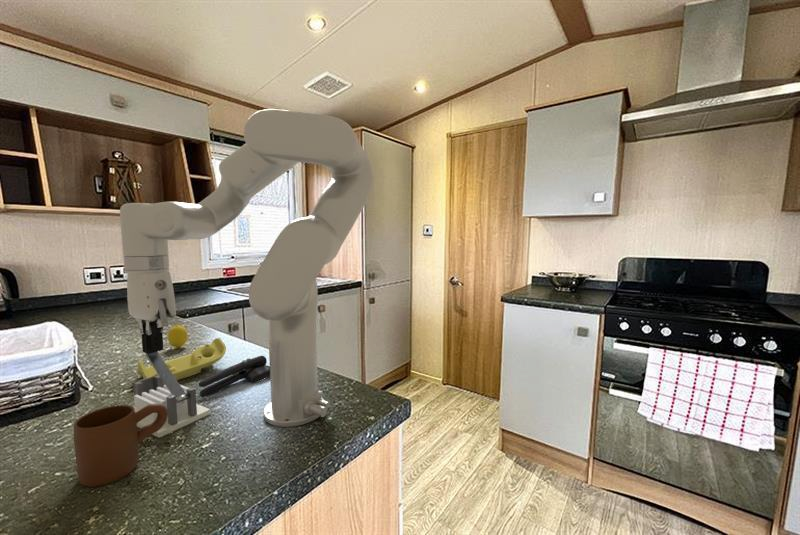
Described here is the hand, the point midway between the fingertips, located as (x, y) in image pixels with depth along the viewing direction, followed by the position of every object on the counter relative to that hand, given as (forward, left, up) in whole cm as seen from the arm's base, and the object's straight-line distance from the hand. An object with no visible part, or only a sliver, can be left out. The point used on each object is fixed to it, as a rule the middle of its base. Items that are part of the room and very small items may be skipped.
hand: (153, 351), depth 73 cm
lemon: (+40, -25, -14) cm, 49 cm away
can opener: (-2, -17, -14) cm, 22 cm away
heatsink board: (-3, 0, -13) cm, 14 cm away
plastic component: (+16, -15, -14) cm, 26 cm away
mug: (-15, +12, -14) cm, 23 cm away
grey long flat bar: (-4, 0, -5) cm, 6 cm away
